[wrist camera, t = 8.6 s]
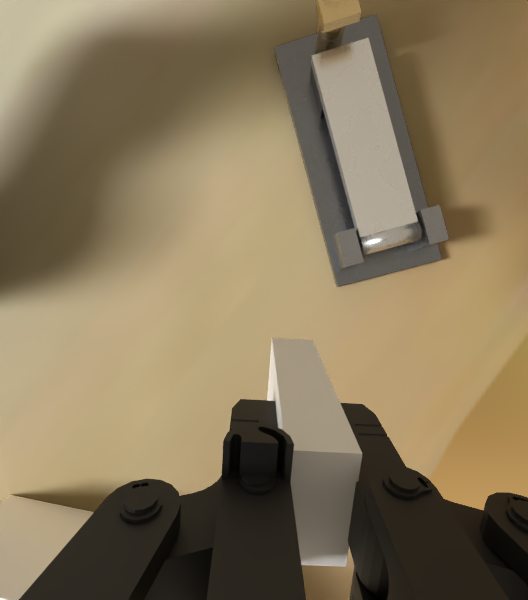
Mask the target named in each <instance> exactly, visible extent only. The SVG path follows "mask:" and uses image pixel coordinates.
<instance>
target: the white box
mask: <svg viewBox="0 0 528 600" xmlns="http://www.w3.org/2000/svg"><path fill="white" fill-rule="evenodd" d="M93 513H94V512H91V511H86V510H81V509H76V508H72V507H67V506H62V505H57V504H52V503H48V502H43V501H38V500H33V499H29V498H24V497H19V496H14V495H9V496H7V497H6V498H4V499H3V500H2V501H0V600H19V599H20V598H21V597H22V595H23V594H24V593H25V592H26V591H27V590H28V588H29V587H30V586H31V585H32V584H33V583H34V581H35V580H36V579H37V578H38V577H39V576H40V574H41V573H42V572H43V571H44V570H45V569H46V568H47V566H48V565H49V564H50V563H51V562H52V561H53V559H54V558H55V557H56V556H57V555H58V554H59V552H60V551H61V550H62V549H63V548H64V547H65V545H66V544H67V543H68V542H69V541H70V540H71V539H72V537H73V536H74V535H75V534H76V533H77V532H78V530H79V529H80V528H81V527H82V526H83V525H84V523H85V522H86V521H87V520H88V519H89V518H90V516H91V515H92V514H93Z"/></svg>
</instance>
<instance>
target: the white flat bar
mask: <svg viewBox="0 0 528 600" xmlns="http://www.w3.org/2000/svg"><path fill="white" fill-rule="evenodd" d="M311 66H312V70H313V74H314V77H315V81H316V85H317V89H318V92H319V96H320V100H321V104H322V107H323V111H324V115H325V118H326V122H327V126H328V130H329V133H330V137H331V141H332V145H333V148H334V152H335V156H336V160H337V163H338V167H339V171H340V175H341V178H342V182H343V186H344V190H345V193H346V197H347V201H348V205H349V208H350V212H351V216H352V220H353V223H354V227H355V230H356V234H357V238H358V241H359V245H360V249H361V253H362V255H367V254H371V253H374V252H378V251H382V250H386V249H389V248H393V247H397V246H401V245H404V244H408V243H412V242H415V241H419V240H421V239H422V229H421V226H420V224H419V222H418V219H417V216H416V212H415V208H414V205H413V201H412V197H411V194H410V190H409V186H408V182H407V179H406V175H405V171H404V168H403V164H402V160H401V156H400V153H399V149H398V145H397V142H396V138H395V134H394V131H393V127H392V123H391V119H390V116H389V112H388V108H387V105H386V101H385V97H384V93H383V90H382V86H381V82H380V79H379V75H378V71H377V67H376V64H375V60H374V56H373V53H372V49H371V45H370V42H369V38H365V39H362V40H359V41H356V42H353V43H350V44H346V45H343V46H340V47H337V48H334V49H331V50H328V51H324V52H321V53H318V54H315V55H312V57H311Z"/></svg>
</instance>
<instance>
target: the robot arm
mask: <svg viewBox="0 0 528 600" xmlns="http://www.w3.org/2000/svg"><path fill="white" fill-rule="evenodd" d="M349 547H350V550H351V554H352V558H353V561H354V565H355V566H354V573H353V580H352V586H351V593H350V599H349V600H528V498H527V497H524V496H521V495H517V494H512V493H495V494H492V495H490V496H488V499H487V501H486V503H485V507H484V511H483V510H479V509H476V508H472V507H468V506H465V505H461V504H457V503H454V502H451V501H448V500H445V499H443V497H442V496H441V494H440V493H439V491H438V490H437V488H436V487H435V486H434V485H433V484H432V483H431V481H430V480H429V479H428V478H426V477H425V476H423V475H422V474H420V473H419V472H417V471H415V470H412V469H410V468H407V467H406V466H405V464H404V463H403V461H402V459H401V458H400V456H399V454H398V452H397V451H396V449H395V447H394V446H393V444H392V442H391V440H390V439H389V437H387V434H386V432H385V430H384V429H383V427H382V425H381V423H380V422H379V420H378V418H377V417H376V415H375V414H374V413H373V412H372V411H371V410H369V409H368V408H367V407H365V406H364V405H363V404H349V403H340V401H339V399H338V397H337V394H336V392H335V390H334V388H333V385H332V383H331V381H330V378H329V376H328V374H327V372H326V369H325V367H324V365H323V362H322V360H321V358H320V356H319V353H318V351H317V349H316V346H315V344H314V342H313V340H300V339H283V338H272V344H271V358H270V371H269V384H268V397H267V401H265V400H246V399H240V401H239V402H238V403H237V404H236V405H235V406H234V407H233V408H232V415H231V423H230V431H229V432H228V433H227V435H226V437H225V439H224V442H223V463H222V476H221V477H220V479H219V480H218V481H217V482H215V483H214V484H213V485H212V486H210V487H208V488H206V489H204V490H202V491H199V492H195V493H192V494H187V495H182V496H179V492H178V491H177V490H176V489H175V488H174V487H173V486H172V485H171V484H169V483H166V482H164V481H162V480H155V479H143V480H138V481H132V482H130V483H128V484H126V485H123V486H121V487H119V488H117V489H116V490H115V491H114V492H113V493H112V494H110V495H109V496H108V497H107V498H106V499H105V500H104V501H103V503H102V504H101V505H100V506H99V507H98V508H97V510H96V511H95V512H94V513H93V514H92V515H91V516H90V518H89V519H88V520H87V521H86V522H85V523H84V525H83V526H82V527H81V528H80V529H79V530H78V532H77V533H76V534H75V535H74V536H73V537H72V539H71V540H70V541H69V542H68V543H67V544H66V545H65V547H64V548H63V549H62V550H61V551H60V552H59V554H58V555H57V556H56V557H55V558H54V559H53V561H52V562H51V563H50V564H49V565H48V566H47V568H46V569H45V570H44V571H43V572H42V573H41V574H40V576H39V577H38V578H37V579H36V580H35V581H34V583H33V584H32V585H31V586H30V587H29V588H28V590H27V591H26V592H25V593H24V594H23V595H22V597H21V598H20V599H19V600H306V597H305V590H304V582H303V574H302V567H301V565H314V566H342V567H346V563H347V556H348V549H349Z"/></svg>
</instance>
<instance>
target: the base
mask: <svg viewBox="0 0 528 600" xmlns="http://www.w3.org/2000/svg"><path fill="white" fill-rule="evenodd" d="M317 12H318V15H319V18H318V30H317V33H316V34H313V35H310V36H307V37H304V38H301V39H298V40H294V41H291V42H288V43H285V44H282V45H279V46H276V47H274V50H275V56H276V60H277V64H278V68H279V71H280V75H281V79H282V83H283V86H284V90H285V94H286V98H287V102H288V105H289V109H290V113H291V117H292V120H293V124H294V128H295V132H296V136H297V139H298V143H299V147H300V151H301V154H302V158H303V162H304V166H305V169H306V173H307V177H308V181H309V185H310V188H311V192H312V196H313V200H314V203H315V207H316V211H317V215H318V219H319V222H320V226H321V230H322V234H323V237H324V241H325V245H326V249H327V253H328V256H329V260H330V264H331V268H332V271H333V275H334V279H335V283H336V287H339V286H342V285H346V284H350V283H354V282H358V281H361V280H365V279H369V278H373V277H377V276H380V275H384V274H388V273H392V272H396V271H400V270H403V269H407V268H411V267H415V266H419V265H422V264H426V263H430V262H434V261H438V260H441V259H442V257H441V254H440V250H439V246H438V243H440V242H443V241H446V240H448V239H449V237H448V234H447V230H446V226H445V222H444V219H443V215H442V211H441V207H440V205H436V206H433V207H429V208H428V205H427V201H426V198H425V194H424V190H423V186H422V183H421V179H420V175H419V171H418V168H417V164H416V160H415V156H414V153H413V149H412V145H411V142H410V138H409V134H408V130H407V127H406V123H405V119H404V115H403V112H402V108H401V104H400V100H399V97H398V93H397V89H396V85H395V82H394V78H393V74H392V71H391V67H390V63H389V59H388V56H387V52H386V48H385V44H384V41H383V37H382V33H381V29H380V26H379V22H378V18H377V14H375V15H372V16H369V17H366V18H363V19H360V16H361V8H360V4H359V1H358V0H317ZM365 38H369V42H370V45H371V49H372V53H373V56H374V60H375V64H376V67H377V71H378V75H379V79H380V82H381V86H382V90H383V93H384V97H385V101H386V105H387V108H388V112H389V116H390V119H391V123H392V127H393V131H394V134H395V138H396V142H397V145H398V149H399V153H400V156H401V160H402V164H403V168H404V171H405V175H406V179H407V182H408V186H409V190H410V194H411V197H412V201H413V205H414V208H415V212H416V216H417V219H418V222H419V224H420V226H421V229H422V239H421V240H419V241H415V242H412V243H408V244H404V245H401V246H397V247H393V248H389V249H386V250H382V251H378V252H374V253H371V254H367V255H362V253H361V249H360V245H359V241H358V238H357V234H356V230H355V227H354V223H353V220H352V216H351V212H350V208H349V205H348V201H347V197H346V193H345V190H344V186H343V182H342V178H341V175H340V171H339V167H338V163H337V160H336V156H335V152H334V148H333V145H332V141H331V137H330V133H329V130H328V126H327V122H326V118H325V115H324V111H323V107H322V104H321V100H320V96H319V92H318V89H317V85H316V81H315V77H314V74H313V70H312V66H311V57H312V55H315V54H318V53H321V52H324V51H328V50H331V49H334V48H337V47H340V46H343V45H346V44H350V43H353V42H356V41H359V40H362V39H365Z"/></svg>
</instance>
